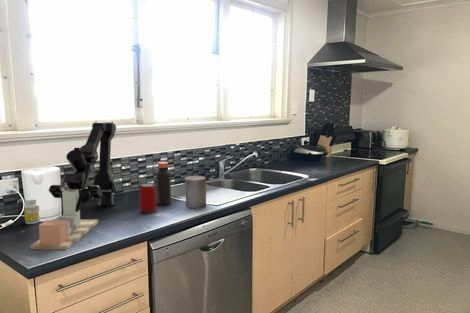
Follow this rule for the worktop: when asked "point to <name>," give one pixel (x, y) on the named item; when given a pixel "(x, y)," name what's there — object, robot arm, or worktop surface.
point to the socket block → (53, 232)
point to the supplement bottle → (31, 211)
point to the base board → (71, 231)
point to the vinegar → (163, 184)
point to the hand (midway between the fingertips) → (69, 211)
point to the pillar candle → (195, 191)
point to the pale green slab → (71, 204)
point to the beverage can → (147, 198)
